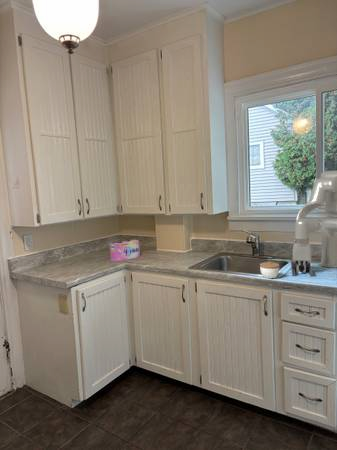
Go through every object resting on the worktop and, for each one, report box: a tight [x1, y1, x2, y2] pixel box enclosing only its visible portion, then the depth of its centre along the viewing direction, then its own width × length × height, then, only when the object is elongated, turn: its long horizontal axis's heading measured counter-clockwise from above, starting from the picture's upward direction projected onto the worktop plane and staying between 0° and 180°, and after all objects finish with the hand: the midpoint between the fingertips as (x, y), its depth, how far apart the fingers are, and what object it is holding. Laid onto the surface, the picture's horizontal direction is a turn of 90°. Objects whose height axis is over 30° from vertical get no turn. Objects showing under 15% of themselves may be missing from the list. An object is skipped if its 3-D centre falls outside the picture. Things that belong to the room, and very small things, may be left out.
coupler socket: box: [290, 254, 314, 278], centre depth 200 cm, size 18×11×9 cm, turn 162°
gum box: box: [109, 238, 141, 263], centre depth 259 cm, size 24×8×14 cm, turn 130°
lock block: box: [295, 262, 307, 274], centre depth 203 cm, size 7×5×5 cm
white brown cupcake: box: [259, 261, 280, 279], centre depth 192 cm, size 11×11×9 cm
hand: (301, 271), depth 198 cm, fingers closed
